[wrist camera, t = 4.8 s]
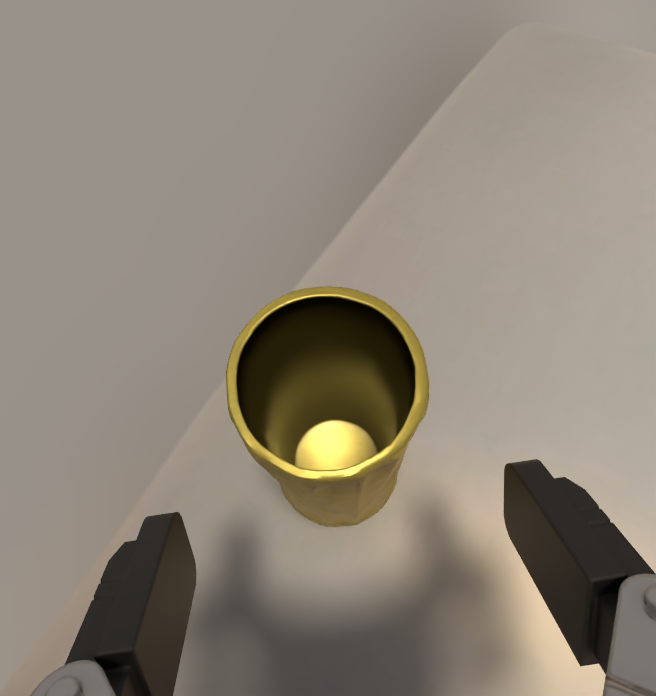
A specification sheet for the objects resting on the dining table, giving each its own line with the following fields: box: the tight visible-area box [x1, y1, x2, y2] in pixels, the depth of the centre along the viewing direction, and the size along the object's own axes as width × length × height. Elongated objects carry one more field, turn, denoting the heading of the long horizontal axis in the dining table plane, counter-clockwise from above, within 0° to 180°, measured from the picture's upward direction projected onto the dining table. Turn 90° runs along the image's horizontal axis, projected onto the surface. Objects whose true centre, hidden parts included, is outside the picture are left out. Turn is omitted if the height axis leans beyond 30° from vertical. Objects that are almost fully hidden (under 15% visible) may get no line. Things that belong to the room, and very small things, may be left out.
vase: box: [226, 287, 429, 527], centre depth 19 cm, size 6×6×14 cm
